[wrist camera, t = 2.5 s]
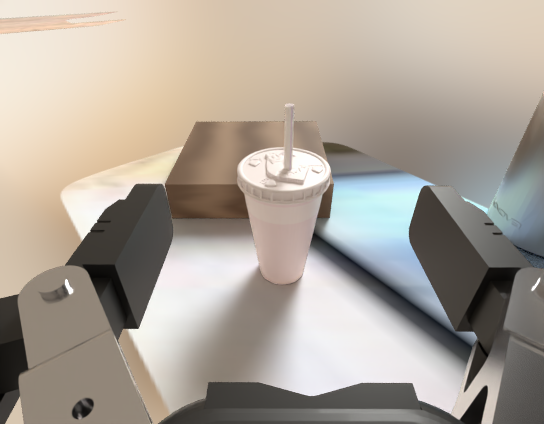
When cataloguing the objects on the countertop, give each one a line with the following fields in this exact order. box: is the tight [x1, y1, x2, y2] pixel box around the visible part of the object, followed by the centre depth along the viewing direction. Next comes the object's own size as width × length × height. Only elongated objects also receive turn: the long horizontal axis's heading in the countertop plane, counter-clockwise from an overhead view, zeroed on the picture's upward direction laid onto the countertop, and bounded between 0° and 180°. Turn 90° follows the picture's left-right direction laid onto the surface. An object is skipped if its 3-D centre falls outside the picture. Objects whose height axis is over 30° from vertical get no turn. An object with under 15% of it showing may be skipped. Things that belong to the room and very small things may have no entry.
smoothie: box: [237, 104, 330, 285], centre depth 24 cm, size 6×6×14 cm
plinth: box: [165, 121, 334, 218], centre depth 39 cm, size 16×16×4 cm
